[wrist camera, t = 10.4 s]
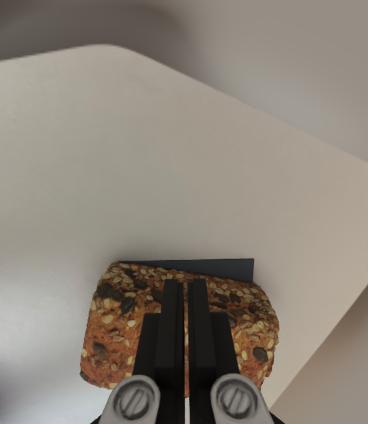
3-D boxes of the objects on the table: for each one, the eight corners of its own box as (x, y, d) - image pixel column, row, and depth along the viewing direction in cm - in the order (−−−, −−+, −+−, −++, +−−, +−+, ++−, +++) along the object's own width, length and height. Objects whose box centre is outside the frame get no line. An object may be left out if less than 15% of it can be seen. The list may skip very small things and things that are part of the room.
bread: (101, 323, 35) (70, 401, 25) (111, 251, 31) (80, 310, 22) (240, 346, 36) (260, 427, 27) (265, 279, 32) (298, 346, 23)
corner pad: (118, 261, 32) (118, 262, 32) (253, 258, 32) (254, 259, 31) (127, 340, 36) (127, 341, 36) (247, 337, 36) (247, 338, 36)
